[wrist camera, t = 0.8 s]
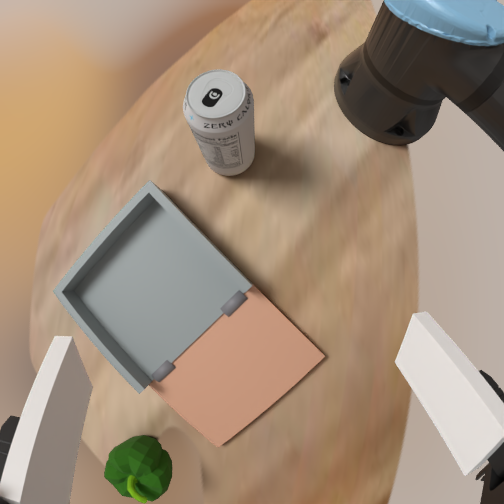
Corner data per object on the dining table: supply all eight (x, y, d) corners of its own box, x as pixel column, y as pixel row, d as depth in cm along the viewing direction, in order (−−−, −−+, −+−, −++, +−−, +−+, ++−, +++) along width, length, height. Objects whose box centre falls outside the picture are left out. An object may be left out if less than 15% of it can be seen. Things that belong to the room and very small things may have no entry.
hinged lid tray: (161, 189, 38) (149, 179, 34) (323, 353, 37) (331, 364, 32) (71, 289, 38) (52, 291, 33) (219, 443, 36) (215, 461, 32)
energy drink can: (264, 146, 38) (267, 81, 23) (238, 186, 38) (227, 137, 23) (222, 125, 38) (206, 55, 23) (196, 163, 38) (164, 106, 23)
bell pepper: (111, 437, 36) (80, 471, 27) (153, 419, 37) (127, 455, 27) (146, 479, 36) (124, 519, 26) (189, 464, 36) (174, 507, 26)
